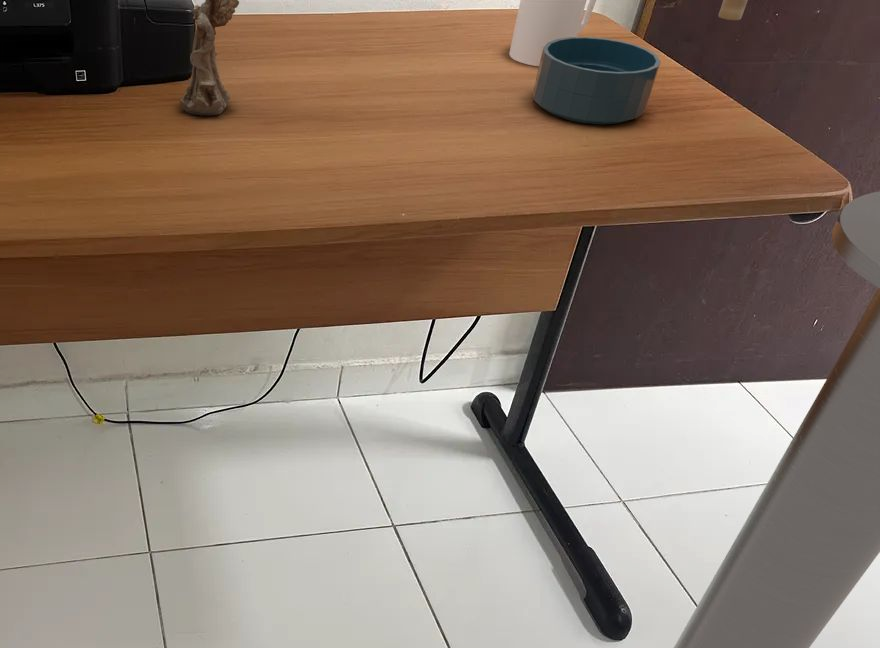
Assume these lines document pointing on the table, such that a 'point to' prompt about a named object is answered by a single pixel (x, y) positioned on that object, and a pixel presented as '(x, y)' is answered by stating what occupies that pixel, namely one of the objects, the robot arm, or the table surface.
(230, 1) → the figurine
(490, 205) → the table surface
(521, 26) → the cup
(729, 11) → the stick
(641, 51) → the bowl
